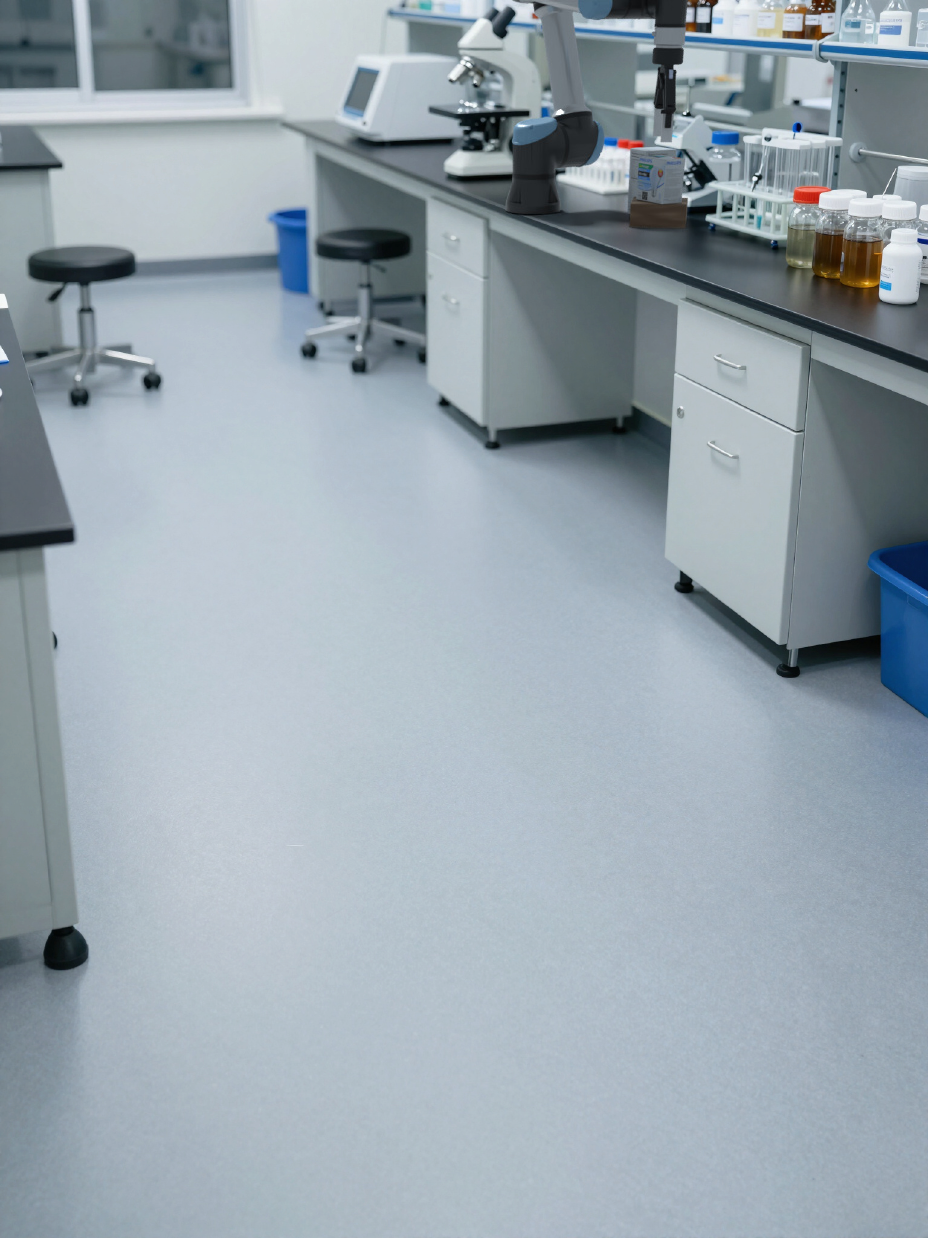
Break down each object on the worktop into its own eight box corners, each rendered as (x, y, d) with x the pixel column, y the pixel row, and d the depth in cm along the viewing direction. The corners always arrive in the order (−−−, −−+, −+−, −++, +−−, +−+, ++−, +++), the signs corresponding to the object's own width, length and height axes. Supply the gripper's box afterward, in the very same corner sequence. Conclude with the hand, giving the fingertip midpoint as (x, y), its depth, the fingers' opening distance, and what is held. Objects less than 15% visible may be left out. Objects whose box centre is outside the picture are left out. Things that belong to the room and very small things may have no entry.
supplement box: (673, 215, 338) (678, 148, 331) (643, 217, 335) (647, 150, 328) (656, 211, 346) (660, 145, 339) (626, 213, 343) (629, 146, 336)
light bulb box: (635, 199, 326) (638, 155, 321) (655, 198, 329) (658, 154, 325) (662, 204, 318) (666, 158, 313) (682, 202, 321) (686, 157, 317)
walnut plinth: (632, 220, 335) (633, 196, 332) (686, 221, 332) (687, 197, 330) (629, 228, 322) (630, 203, 320) (684, 229, 320) (686, 205, 317)
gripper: (646, 44, 320) (640, 133, 330) (660, 48, 298) (654, 144, 307) (676, 44, 320) (669, 133, 330) (692, 48, 298) (684, 144, 307)
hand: (662, 139), depth 319 cm, fingers open, 13 cm apart
